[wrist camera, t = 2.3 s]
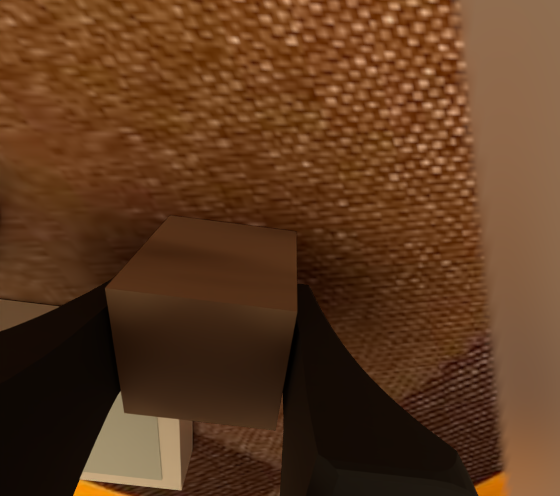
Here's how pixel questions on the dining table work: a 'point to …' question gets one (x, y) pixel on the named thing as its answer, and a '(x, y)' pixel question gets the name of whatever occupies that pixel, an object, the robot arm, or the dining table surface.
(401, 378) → the dining table surface
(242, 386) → the walnut block
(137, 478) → the tile base
